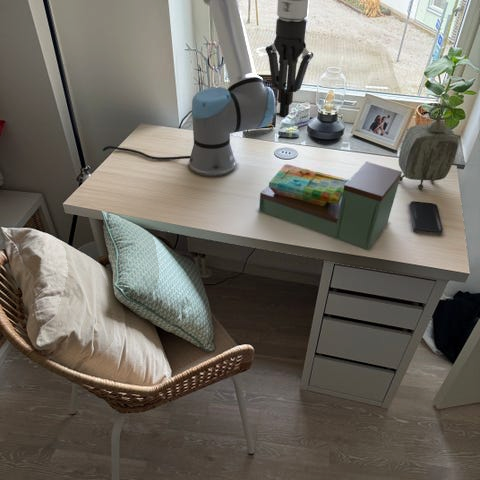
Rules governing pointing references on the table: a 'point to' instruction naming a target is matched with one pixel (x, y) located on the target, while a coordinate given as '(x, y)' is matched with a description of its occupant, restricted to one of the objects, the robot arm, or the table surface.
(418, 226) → the phone
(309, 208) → the step shelf
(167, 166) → the table surface
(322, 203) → the puzzle game
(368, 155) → the table surface
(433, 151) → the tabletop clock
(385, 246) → the table surface
